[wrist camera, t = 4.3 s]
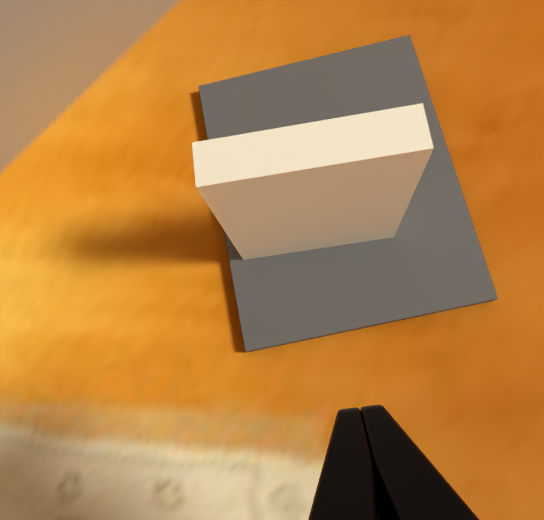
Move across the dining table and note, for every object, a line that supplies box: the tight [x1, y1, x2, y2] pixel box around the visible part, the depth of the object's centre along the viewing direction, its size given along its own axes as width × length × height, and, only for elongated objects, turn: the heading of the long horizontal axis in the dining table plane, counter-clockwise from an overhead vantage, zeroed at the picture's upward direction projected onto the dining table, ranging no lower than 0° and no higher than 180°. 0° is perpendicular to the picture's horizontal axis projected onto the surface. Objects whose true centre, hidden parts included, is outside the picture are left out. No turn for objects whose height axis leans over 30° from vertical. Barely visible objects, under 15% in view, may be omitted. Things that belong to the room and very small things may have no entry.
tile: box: [192, 103, 434, 260], centre depth 19 cm, size 2×8×9 cm, turn 97°
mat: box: [198, 35, 498, 352], centre depth 25 cm, size 15×12×1 cm
